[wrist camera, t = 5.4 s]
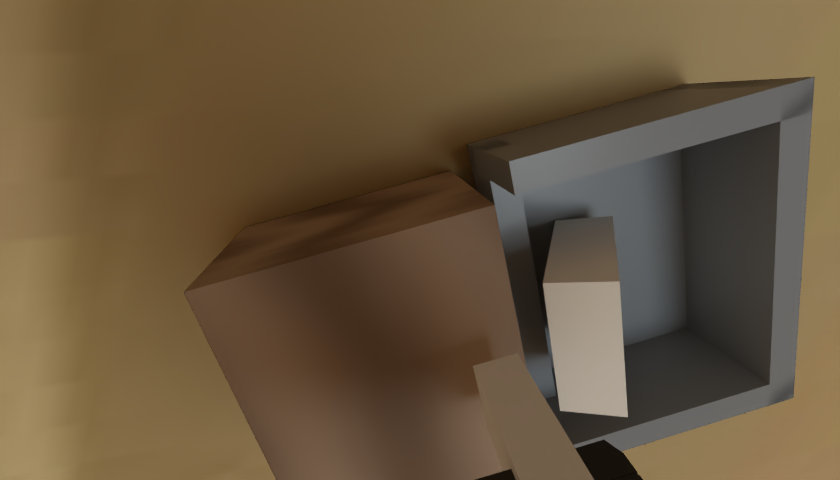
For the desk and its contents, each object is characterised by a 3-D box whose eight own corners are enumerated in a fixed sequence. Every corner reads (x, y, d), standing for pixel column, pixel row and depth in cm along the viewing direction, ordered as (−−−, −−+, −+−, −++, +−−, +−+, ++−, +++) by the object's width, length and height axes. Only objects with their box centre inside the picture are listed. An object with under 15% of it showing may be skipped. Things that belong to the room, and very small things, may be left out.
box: (687, 83, 20) (814, 76, 14) (694, 330, 25) (793, 398, 19) (466, 144, 20) (508, 161, 14) (516, 383, 24) (563, 469, 19)
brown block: (451, 170, 20) (494, 204, 13) (497, 374, 24) (548, 479, 17) (244, 227, 20) (183, 292, 13) (326, 425, 24) (311, 552, 17)
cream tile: (555, 220, 20) (612, 215, 19) (567, 325, 22) (619, 326, 21) (542, 283, 15) (619, 281, 14) (559, 410, 17) (627, 417, 16)
